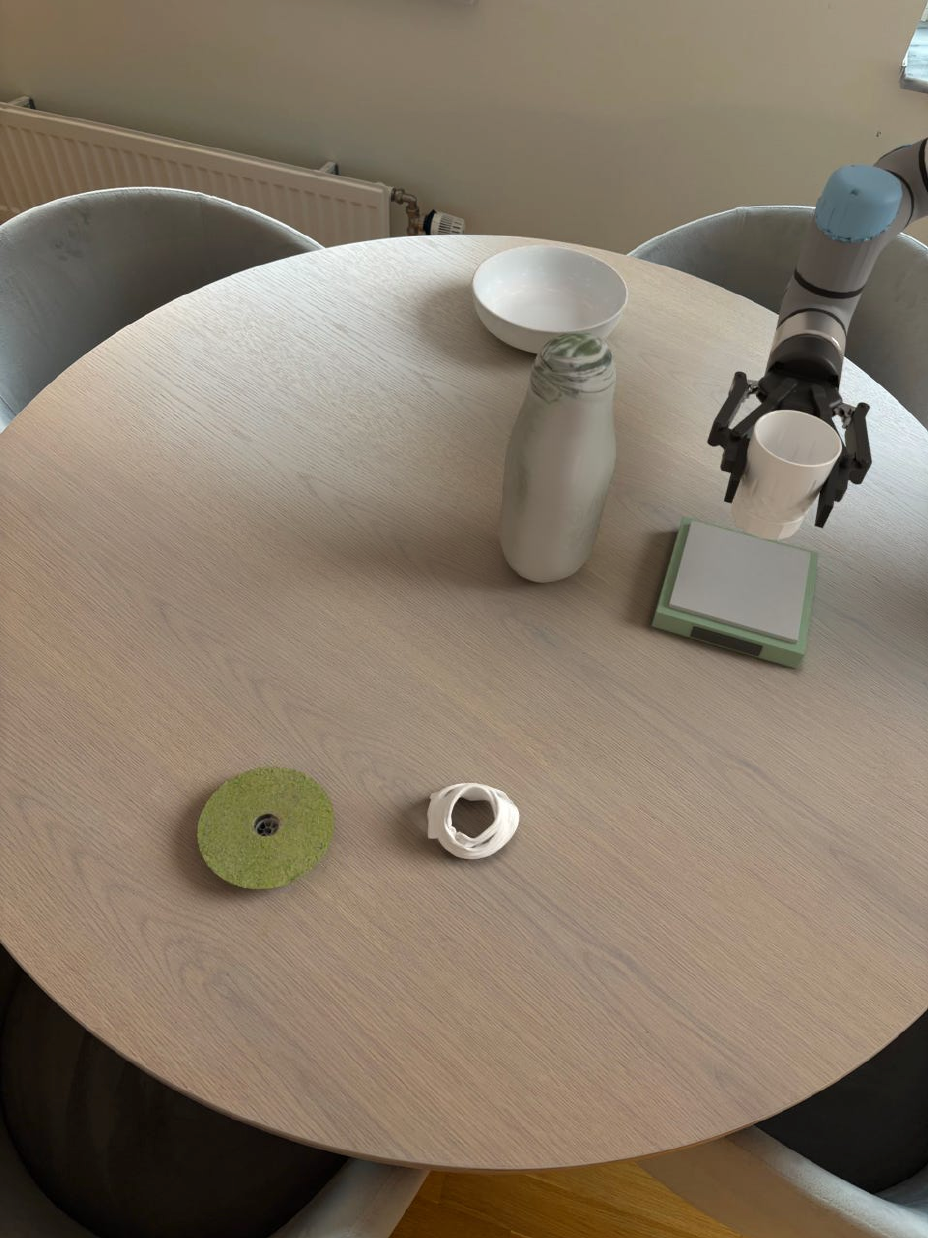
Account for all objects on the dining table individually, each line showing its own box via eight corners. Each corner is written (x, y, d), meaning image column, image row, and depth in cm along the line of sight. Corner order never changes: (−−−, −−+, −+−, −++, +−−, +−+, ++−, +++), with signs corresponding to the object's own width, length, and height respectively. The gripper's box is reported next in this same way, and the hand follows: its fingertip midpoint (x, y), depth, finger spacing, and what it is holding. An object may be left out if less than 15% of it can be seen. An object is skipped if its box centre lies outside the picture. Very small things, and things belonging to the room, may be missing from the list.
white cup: (821, 526, 93) (860, 447, 85) (765, 556, 90) (800, 477, 82) (763, 479, 97) (795, 399, 89) (707, 506, 94) (736, 426, 86)
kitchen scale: (811, 567, 105) (820, 548, 102) (796, 671, 95) (806, 653, 93) (678, 531, 107) (684, 511, 105) (650, 628, 98) (656, 609, 95)
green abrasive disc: (347, 879, 78) (347, 869, 77) (209, 914, 76) (205, 904, 74) (321, 765, 85) (320, 753, 84) (193, 793, 83) (190, 782, 81)
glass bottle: (526, 519, 107) (559, 296, 85) (604, 560, 103) (660, 338, 82) (476, 570, 102) (498, 345, 80) (557, 615, 98) (603, 393, 77)
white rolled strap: (512, 796, 85) (520, 764, 82) (520, 863, 81) (530, 831, 77) (423, 795, 84) (428, 762, 81) (427, 863, 79) (432, 831, 76)
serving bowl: (460, 289, 136) (463, 244, 131) (602, 288, 139) (610, 243, 134) (477, 377, 123) (481, 331, 118) (634, 374, 126) (644, 329, 120)
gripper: (889, 418, 101) (876, 564, 87) (699, 371, 104) (657, 503, 90) (919, 358, 95) (910, 504, 81) (717, 310, 99) (675, 442, 85)
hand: (777, 503), depth 86 cm, fingers closed on white cup, 8 cm apart
